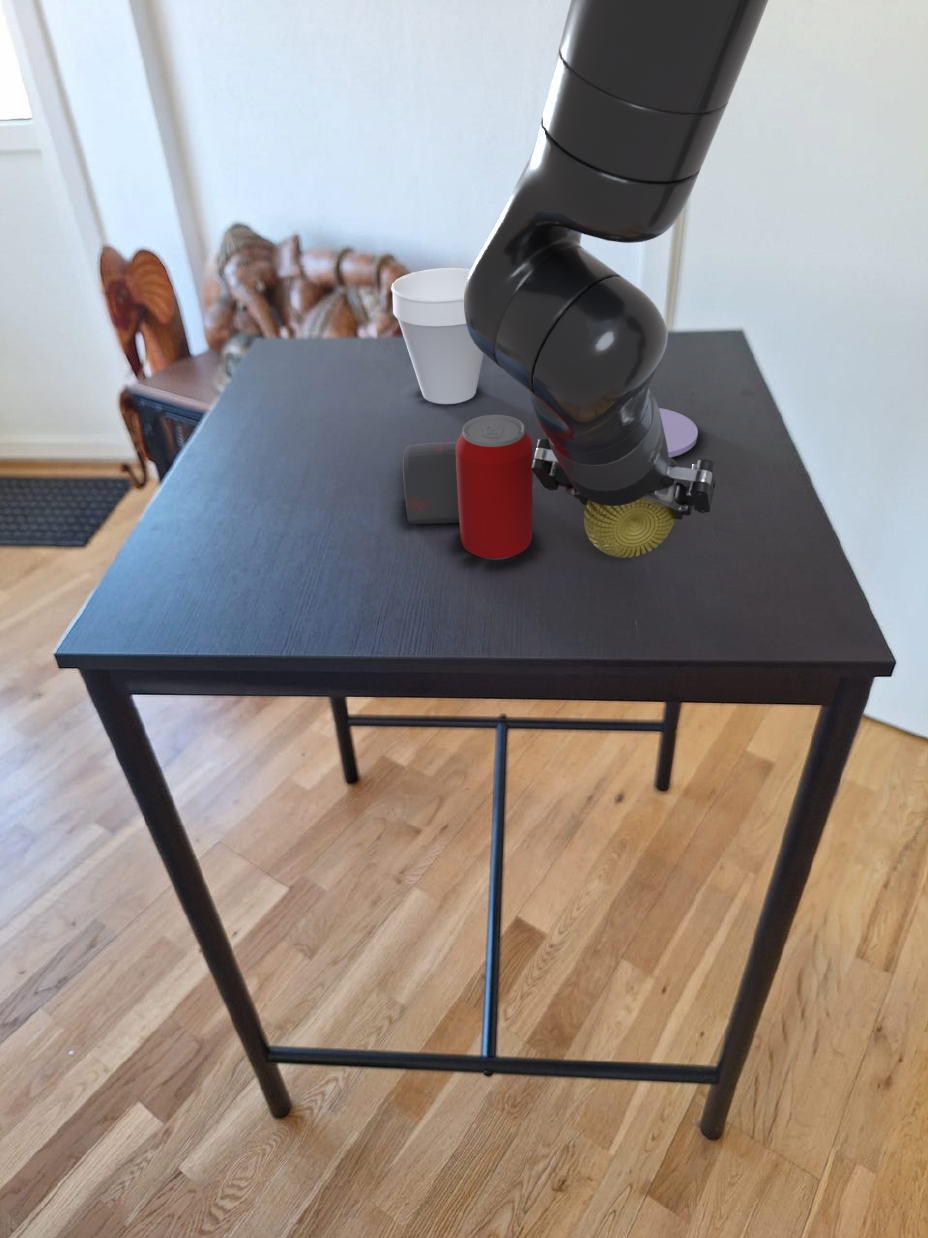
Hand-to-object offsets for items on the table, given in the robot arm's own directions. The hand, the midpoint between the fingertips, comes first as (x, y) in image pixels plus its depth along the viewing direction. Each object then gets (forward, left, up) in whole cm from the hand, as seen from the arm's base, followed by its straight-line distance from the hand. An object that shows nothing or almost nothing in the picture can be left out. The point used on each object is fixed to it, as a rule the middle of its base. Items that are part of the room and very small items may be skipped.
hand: (634, 501), depth 74 cm
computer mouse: (+21, -6, -6) cm, 23 cm away
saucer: (+4, -24, -6) cm, 25 cm away
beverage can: (+12, +2, -6) cm, 14 cm away
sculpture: (0, +1, -5) cm, 5 cm away
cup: (+30, -29, -6) cm, 42 cm away
